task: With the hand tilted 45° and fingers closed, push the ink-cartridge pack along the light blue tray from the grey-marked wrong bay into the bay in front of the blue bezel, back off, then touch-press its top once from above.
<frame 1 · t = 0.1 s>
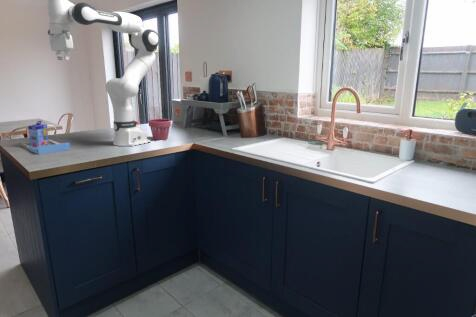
hand: (63, 60, 167), 48 cm above the countertop, tool pointing down, fingers open, 8 cm apart
plant pot: (160, 139, 217), on the countertop
ink cartridge box: (40, 145, 193), on the countertop
light blue tray: (44, 147, 188), on the countertop
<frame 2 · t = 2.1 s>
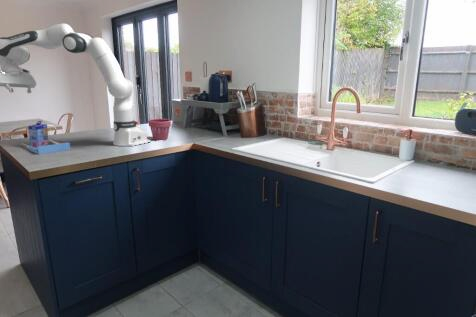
hand: (21, 92, 189), 30 cm above the countertop, tool tilted 40°, fingers open, 8 cm apart
nothing on the countertop moved.
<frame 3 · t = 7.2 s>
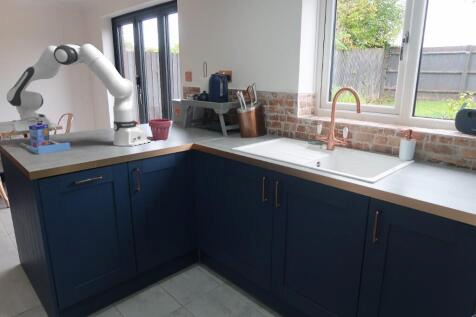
hand: (37, 137, 195), 4 cm above the countertop, tool tilted 45°, fingers closed
ink cartridge box: (41, 145, 193), on the countertop, touching gripper
everything else where it was.
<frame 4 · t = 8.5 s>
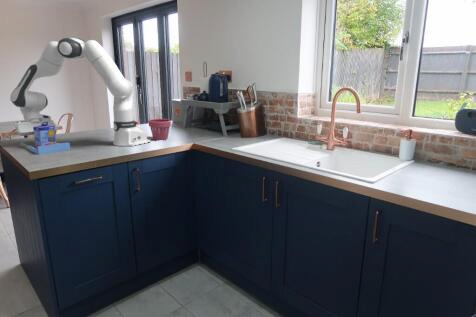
hand: (41, 139, 190), 4 cm above the countertop, tool tilted 45°, fingers closed
ink cartridge box: (46, 147, 189), on the countertop, touching gripper
everything else where it was.
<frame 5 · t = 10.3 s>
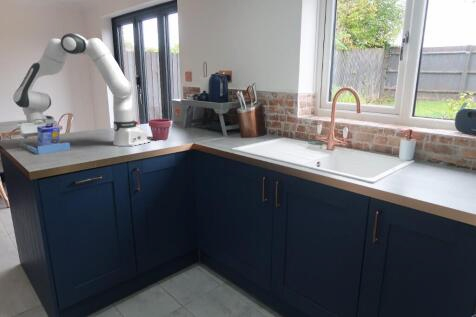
hand: (44, 140, 186), 4 cm above the countertop, tool tilted 45°, fingers closed
ink cartridge box: (49, 147, 186), on the countertop, touching gripper
everything else where it was.
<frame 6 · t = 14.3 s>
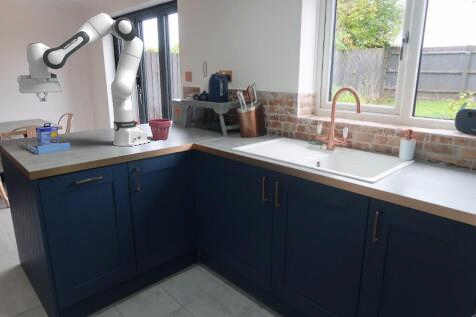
hand: (43, 101, 177), 26 cm above the countertop, tool pointing down, fingers closed
ink cartridge box: (49, 148, 186), on the countertop
everything else where it was.
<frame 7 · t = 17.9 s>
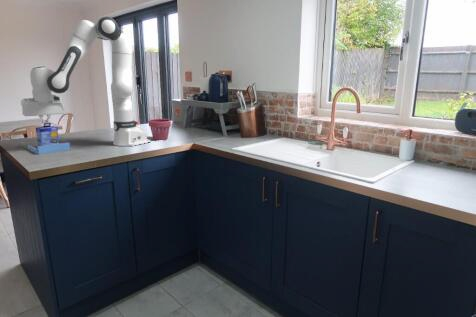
hand: (45, 123, 180), 15 cm above the countertop, tool pointing down, fingers closed
nothing on the countertop moved.
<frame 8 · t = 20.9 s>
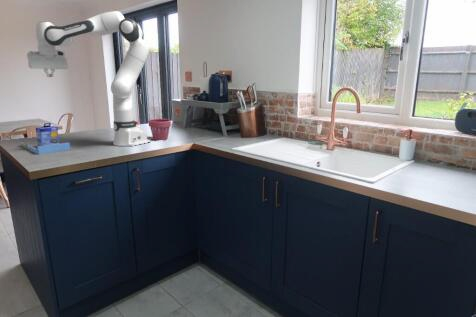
hand: (50, 77, 191), 39 cm above the countertop, tool pointing down, fingers closed
nothing on the countertop moved.
at the end: ink cartridge box inside the target area (3.4 cm from its centre), on the countertop; ink cartridge box tilted 0°; ink cartridge box moved 11.8 cm from its start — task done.
